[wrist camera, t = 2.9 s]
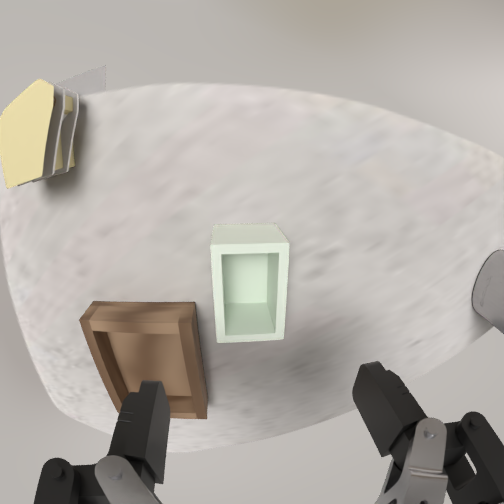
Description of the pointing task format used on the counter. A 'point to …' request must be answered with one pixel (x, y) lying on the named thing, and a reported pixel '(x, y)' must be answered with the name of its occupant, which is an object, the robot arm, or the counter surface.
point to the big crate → (148, 351)
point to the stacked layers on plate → (44, 127)
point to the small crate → (249, 281)
